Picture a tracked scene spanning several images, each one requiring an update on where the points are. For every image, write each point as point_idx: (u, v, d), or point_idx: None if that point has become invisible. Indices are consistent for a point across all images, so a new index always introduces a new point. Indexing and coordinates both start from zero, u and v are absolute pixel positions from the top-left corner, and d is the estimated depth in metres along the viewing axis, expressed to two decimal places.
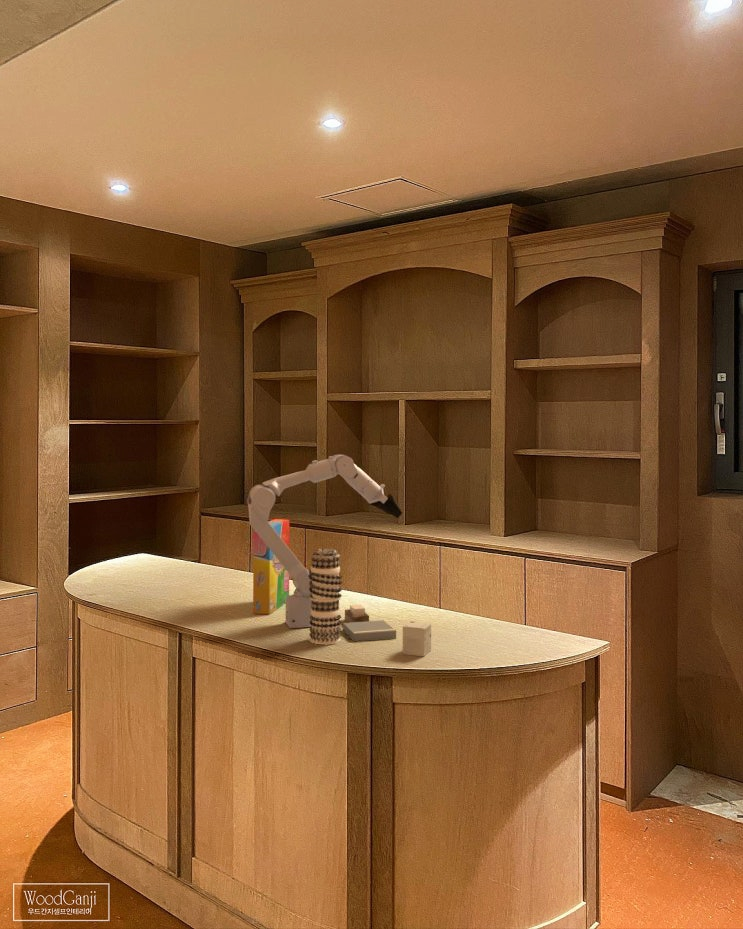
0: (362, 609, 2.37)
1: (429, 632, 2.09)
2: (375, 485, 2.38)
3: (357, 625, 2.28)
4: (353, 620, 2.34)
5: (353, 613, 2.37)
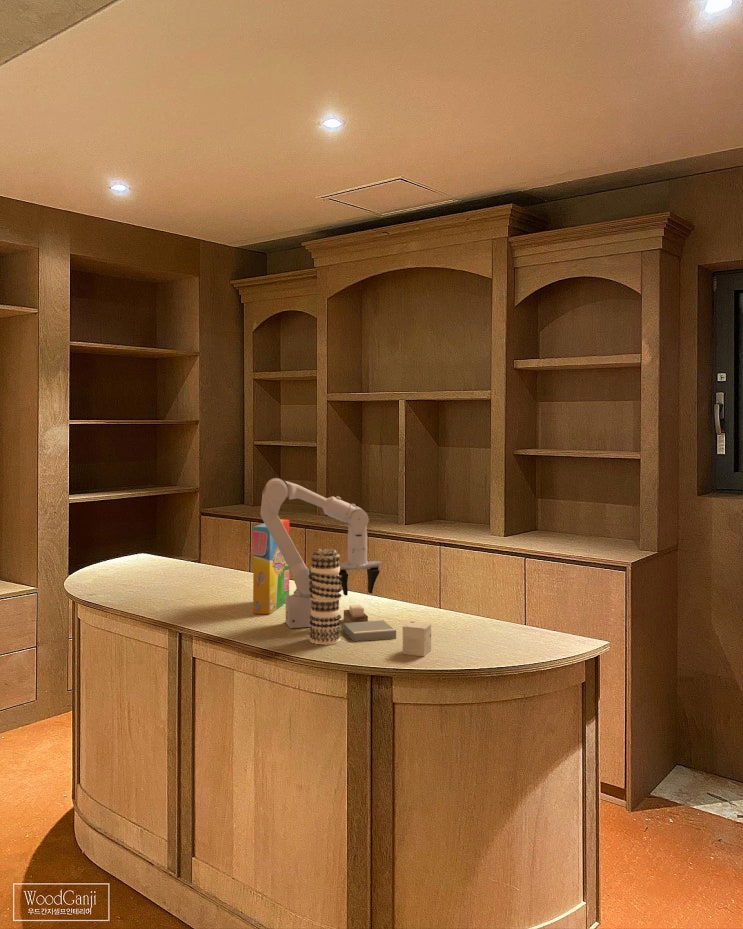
0: (361, 609, 2.37)
1: (429, 632, 2.09)
2: (352, 557, 2.36)
3: (357, 625, 2.28)
4: (352, 620, 2.34)
5: (352, 613, 2.37)
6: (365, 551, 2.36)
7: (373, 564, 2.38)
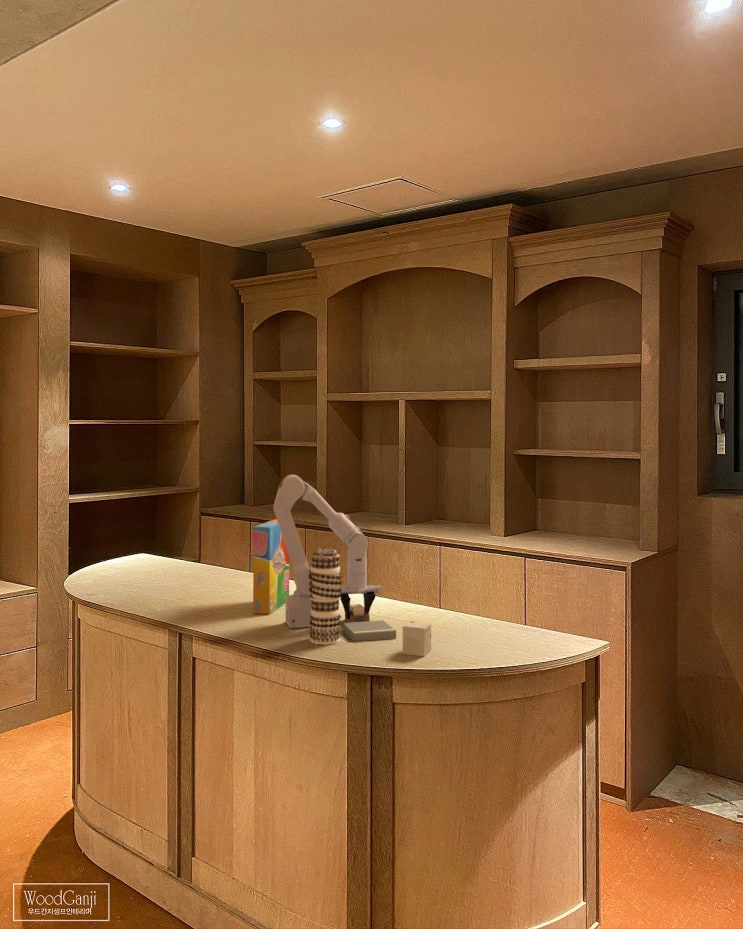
0: (361, 608, 2.37)
1: (429, 632, 2.09)
2: (352, 582, 2.36)
3: (357, 625, 2.28)
4: (353, 619, 2.34)
5: (352, 612, 2.37)
6: (364, 575, 2.37)
7: (372, 588, 2.38)
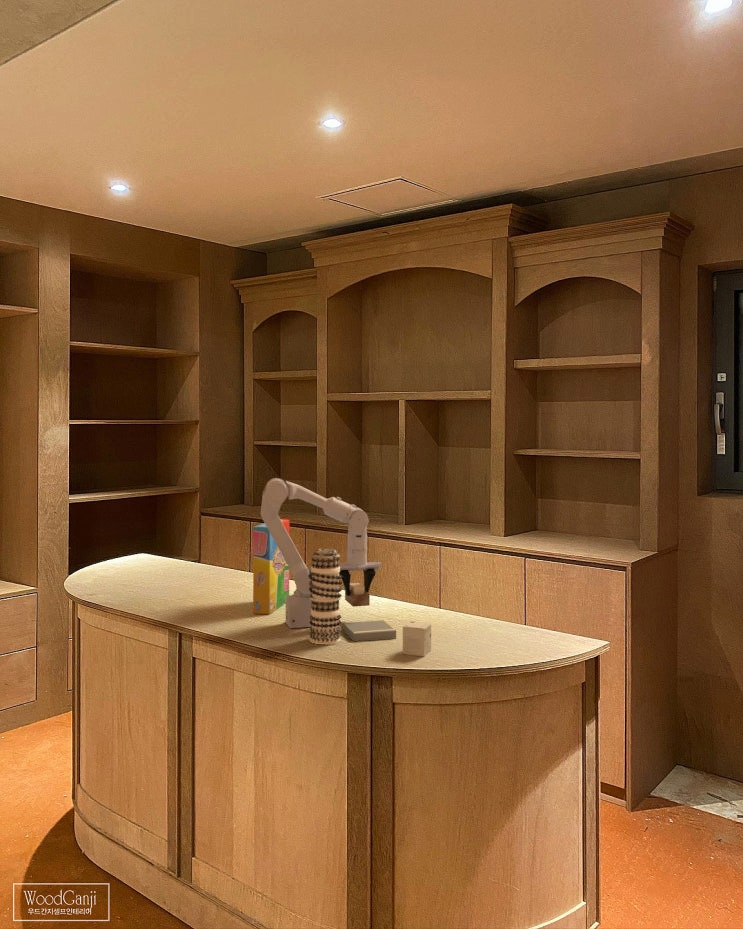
0: (362, 587, 2.36)
1: (429, 632, 2.09)
2: (352, 558, 2.36)
3: (357, 625, 2.28)
4: (353, 598, 2.34)
5: (353, 591, 2.37)
6: (365, 552, 2.36)
7: (372, 565, 2.38)
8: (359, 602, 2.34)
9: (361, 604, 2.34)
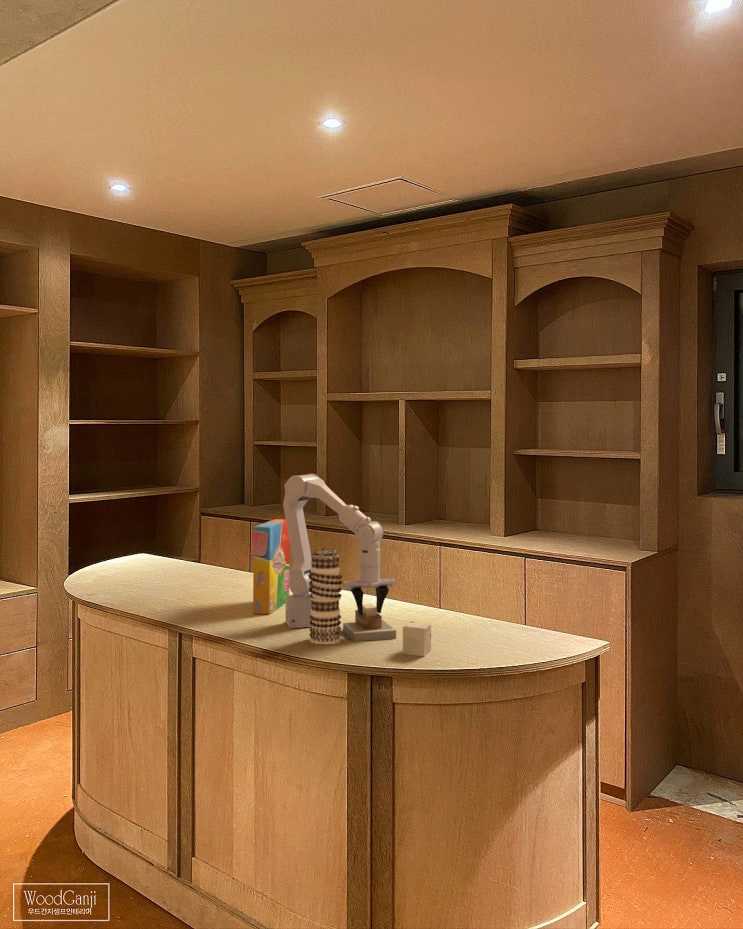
0: (374, 609, 2.27)
1: (429, 632, 2.09)
2: (364, 575, 2.23)
3: (357, 625, 2.28)
4: (365, 621, 2.24)
5: (365, 613, 2.28)
6: (378, 568, 2.24)
7: (386, 582, 2.26)
8: (371, 624, 2.25)
9: (373, 627, 2.25)
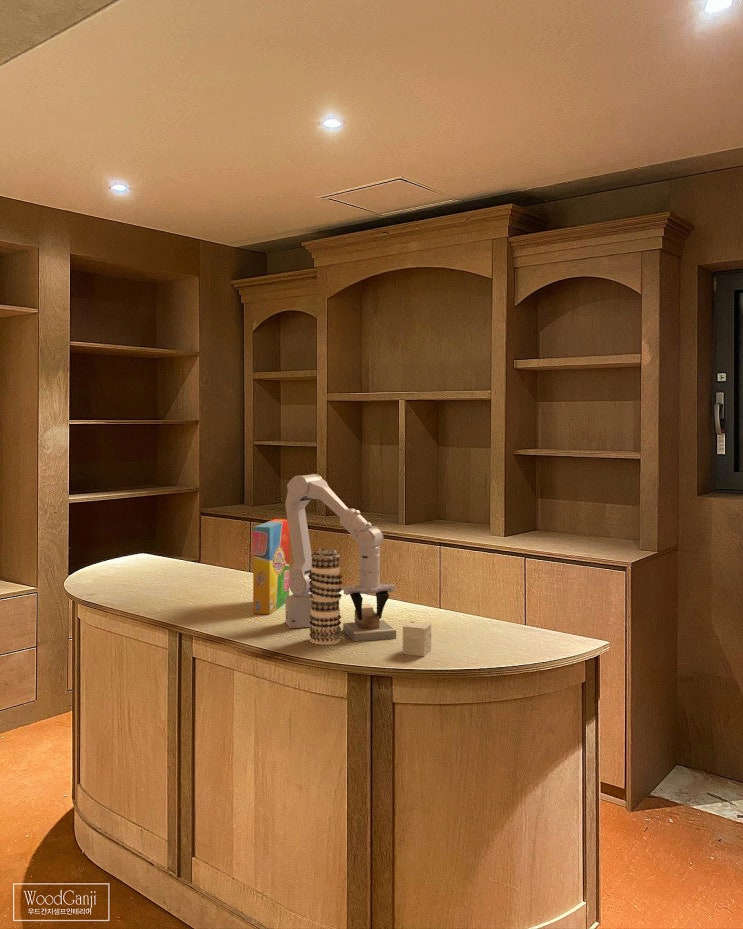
0: (370, 608, 2.28)
1: (429, 632, 2.09)
2: (364, 580, 2.23)
3: (357, 625, 2.28)
4: (363, 621, 2.24)
5: None
6: (377, 574, 2.24)
7: (386, 587, 2.26)
8: (369, 624, 2.25)
9: (371, 627, 2.25)
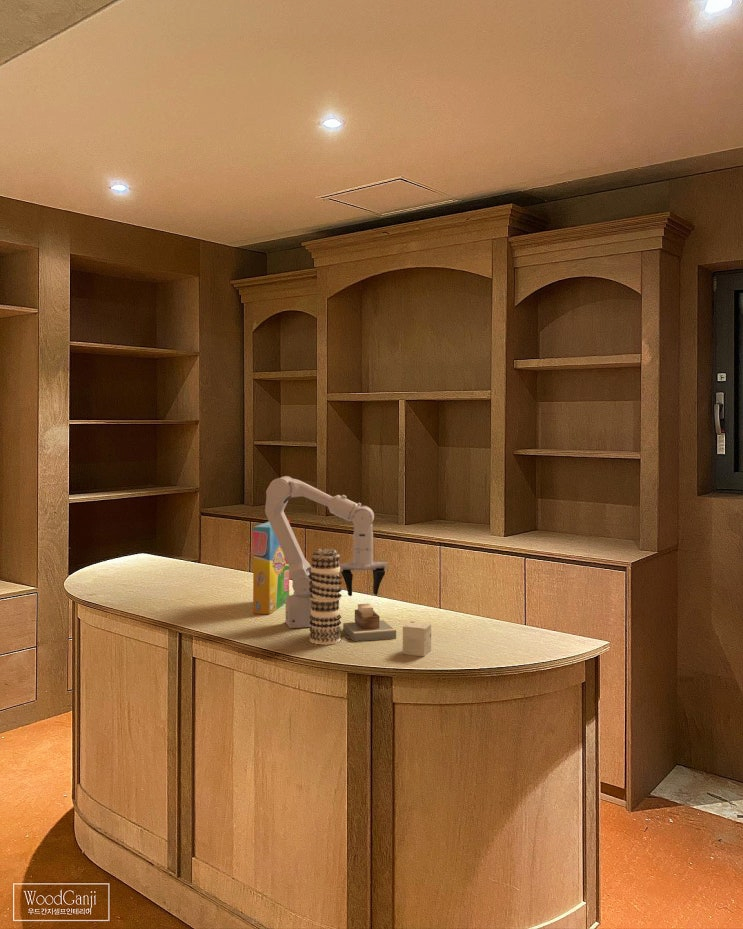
0: (370, 608, 2.28)
1: (429, 632, 2.09)
2: (357, 557, 2.31)
3: (357, 625, 2.28)
4: (363, 621, 2.24)
5: (361, 612, 2.28)
6: (371, 551, 2.32)
7: (379, 565, 2.33)
8: (369, 624, 2.25)
9: (371, 627, 2.25)
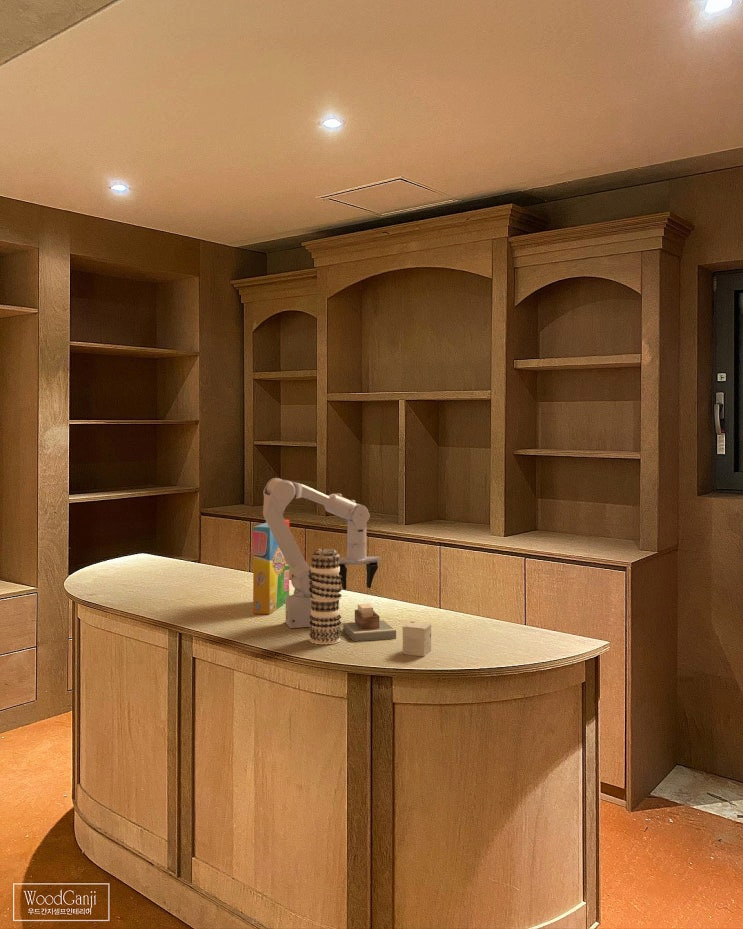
0: (370, 608, 2.28)
1: (429, 632, 2.09)
2: (351, 552, 2.40)
3: (357, 625, 2.28)
4: (363, 621, 2.24)
5: (361, 612, 2.28)
6: (364, 546, 2.40)
7: (372, 559, 2.42)
8: (369, 624, 2.25)
9: (371, 627, 2.25)
